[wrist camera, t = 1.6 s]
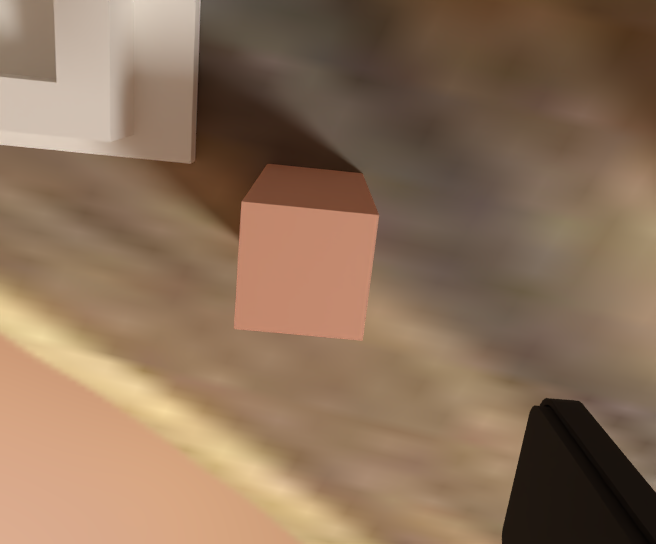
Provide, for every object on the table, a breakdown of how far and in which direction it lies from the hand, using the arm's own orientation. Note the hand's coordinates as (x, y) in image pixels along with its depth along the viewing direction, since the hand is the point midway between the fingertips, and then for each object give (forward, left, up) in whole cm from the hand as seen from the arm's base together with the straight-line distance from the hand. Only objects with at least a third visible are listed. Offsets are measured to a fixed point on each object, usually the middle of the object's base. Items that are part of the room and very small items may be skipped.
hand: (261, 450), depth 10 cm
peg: (0, 0, -19) cm, 19 cm away
